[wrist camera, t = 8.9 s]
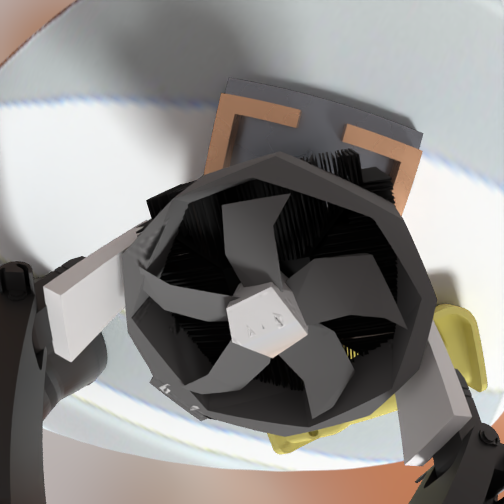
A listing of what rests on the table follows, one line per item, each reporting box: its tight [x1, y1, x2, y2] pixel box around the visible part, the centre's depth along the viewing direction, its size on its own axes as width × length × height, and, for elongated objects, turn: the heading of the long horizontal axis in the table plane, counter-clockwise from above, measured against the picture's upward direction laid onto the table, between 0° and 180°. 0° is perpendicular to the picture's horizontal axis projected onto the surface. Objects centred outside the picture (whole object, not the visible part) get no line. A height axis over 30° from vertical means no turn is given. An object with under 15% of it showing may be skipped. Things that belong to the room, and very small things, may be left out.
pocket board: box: [203, 78, 423, 216], centre depth 23 cm, size 14×18×3 cm
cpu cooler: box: [122, 148, 437, 437], centre depth 12 cm, size 10×6×10 cm
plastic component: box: [267, 304, 487, 454], centre depth 26 cm, size 20×7×10 cm
